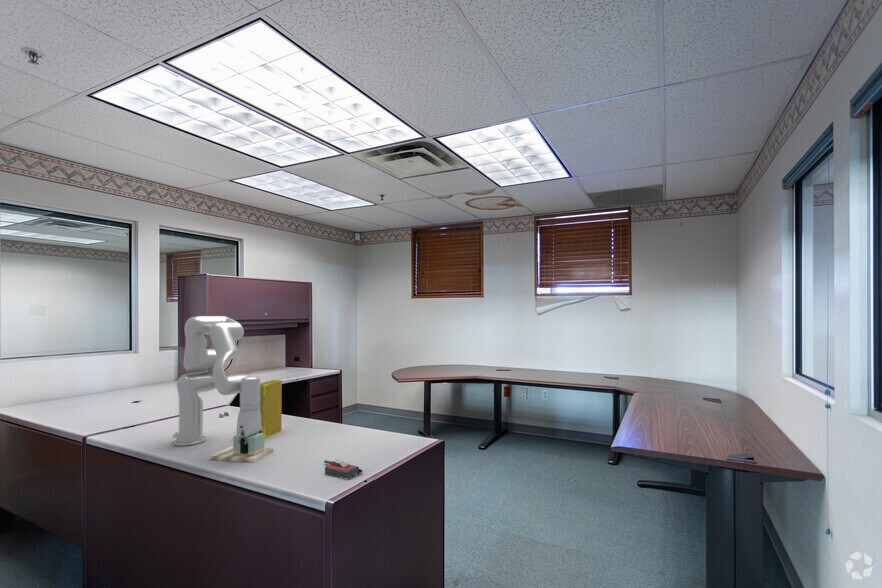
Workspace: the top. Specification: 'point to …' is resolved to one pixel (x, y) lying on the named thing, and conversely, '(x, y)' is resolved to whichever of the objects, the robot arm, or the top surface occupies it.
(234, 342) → the robot arm
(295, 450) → the top surface
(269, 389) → the book
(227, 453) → the board
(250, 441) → the block
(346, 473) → the walkie-talkie
